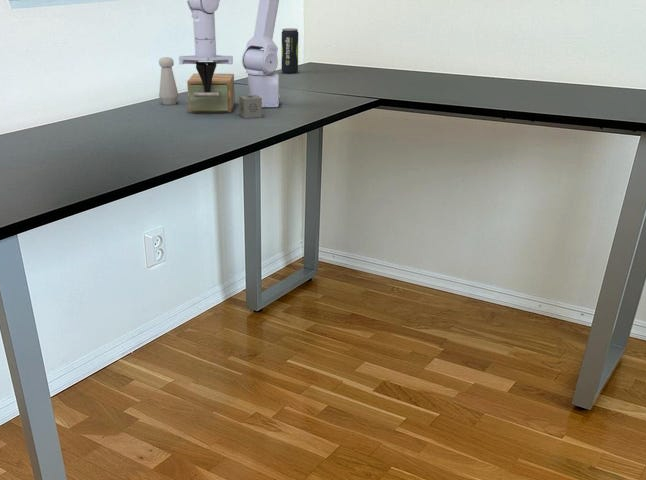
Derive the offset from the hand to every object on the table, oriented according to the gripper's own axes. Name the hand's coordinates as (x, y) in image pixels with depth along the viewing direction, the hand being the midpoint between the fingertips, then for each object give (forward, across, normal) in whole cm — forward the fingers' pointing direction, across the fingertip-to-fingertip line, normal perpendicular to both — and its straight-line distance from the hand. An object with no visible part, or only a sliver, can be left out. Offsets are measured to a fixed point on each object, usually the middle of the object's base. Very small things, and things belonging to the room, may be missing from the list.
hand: (207, 91), depth 196 cm
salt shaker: (+6, -14, +17) cm, 23 cm away
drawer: (+5, 0, +5) cm, 8 cm away
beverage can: (+6, +22, +78) cm, 81 cm away
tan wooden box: (+6, 0, +10) cm, 12 cm away
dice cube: (+6, +12, -1) cm, 14 cm away
